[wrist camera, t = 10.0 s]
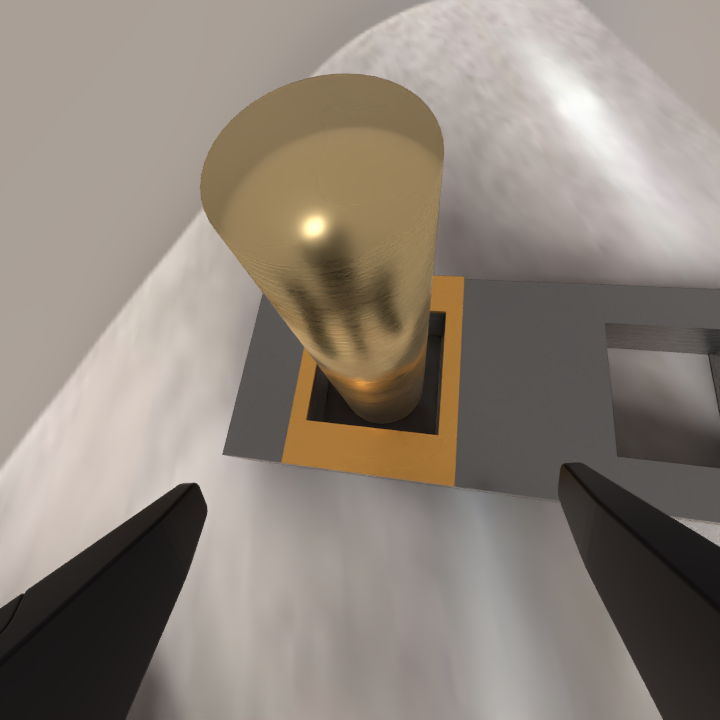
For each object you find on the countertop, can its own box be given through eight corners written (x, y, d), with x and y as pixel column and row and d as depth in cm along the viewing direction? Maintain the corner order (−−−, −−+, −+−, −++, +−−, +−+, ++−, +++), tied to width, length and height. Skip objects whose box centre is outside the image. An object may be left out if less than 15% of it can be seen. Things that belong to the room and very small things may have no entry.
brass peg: (385, 441, 17) (313, 315, 5) (326, 386, 18) (156, 181, 6) (440, 379, 18) (498, 132, 5) (380, 331, 19) (319, 46, 7)
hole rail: (788, 322, 16) (857, 292, 14) (849, 542, 13) (949, 554, 11) (284, 296, 20) (266, 269, 18) (247, 459, 18) (220, 454, 15)
